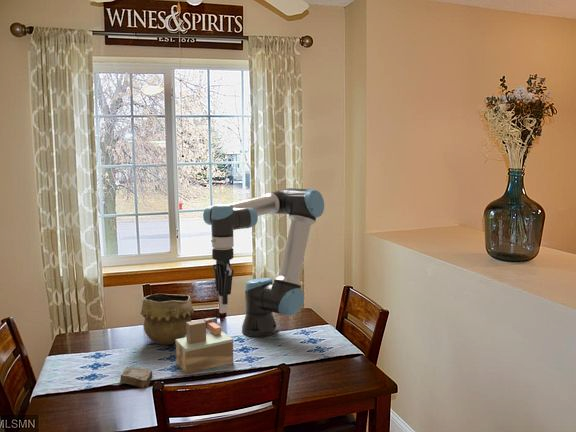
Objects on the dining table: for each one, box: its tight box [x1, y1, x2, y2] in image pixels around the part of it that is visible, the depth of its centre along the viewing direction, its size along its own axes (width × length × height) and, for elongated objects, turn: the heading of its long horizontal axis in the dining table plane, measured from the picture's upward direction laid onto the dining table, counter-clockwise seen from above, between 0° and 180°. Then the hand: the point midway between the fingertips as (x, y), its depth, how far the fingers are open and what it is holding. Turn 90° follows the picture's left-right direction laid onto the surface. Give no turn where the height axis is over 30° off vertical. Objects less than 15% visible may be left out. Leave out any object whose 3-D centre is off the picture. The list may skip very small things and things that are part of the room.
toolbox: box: [175, 341, 234, 375], centre depth 181 cm, size 11×18×8 cm, turn 121°
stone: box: [120, 366, 154, 389], centre depth 169 cm, size 15×8×3 cm, turn 63°
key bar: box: [201, 317, 222, 335], centre depth 190 cm, size 12×3×3 cm, turn 31°
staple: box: [202, 317, 218, 325], centre depth 192 cm, size 2×6×13 cm, turn 121°
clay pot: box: [140, 293, 195, 346], centre depth 201 cm, size 21×21×20 cm
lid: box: [175, 318, 234, 352], centre depth 181 cm, size 11×18×8 cm, turn 121°
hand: (223, 312), depth 178 cm, fingers closed
